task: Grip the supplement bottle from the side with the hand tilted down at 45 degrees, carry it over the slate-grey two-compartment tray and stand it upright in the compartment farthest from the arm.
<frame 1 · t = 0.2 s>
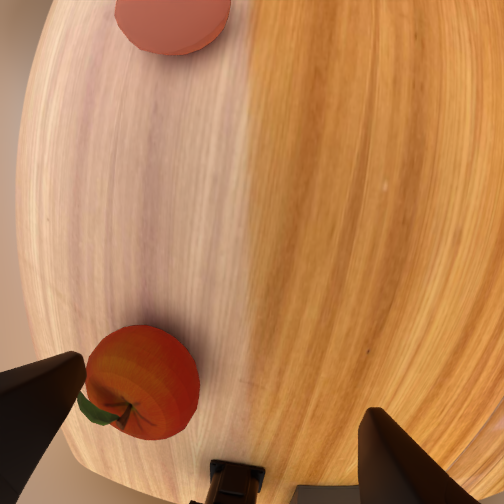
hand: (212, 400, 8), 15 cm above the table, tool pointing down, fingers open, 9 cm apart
tray: (359, 501, 29), on the table
fruit: (162, 354, 26), on the table
perfume bottle: (191, 27, 18), on the table
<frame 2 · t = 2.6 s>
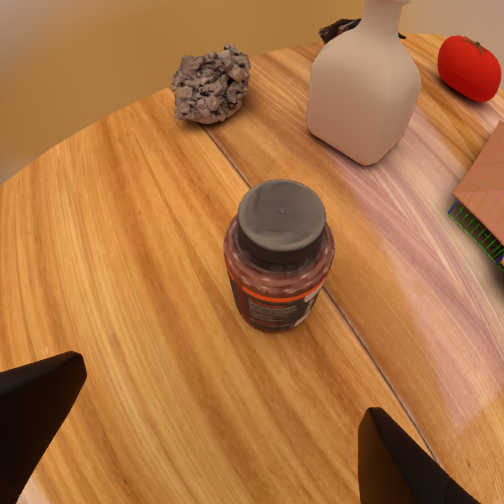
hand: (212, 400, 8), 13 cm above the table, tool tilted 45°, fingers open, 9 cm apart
supplement bottle: (274, 298, 23), on the table
figurine: (347, 77, 39), on the table
tomato: (460, 91, 40), on the table
soap bottle: (353, 137, 32), on the table
mineral specimen: (217, 107, 35), on the table
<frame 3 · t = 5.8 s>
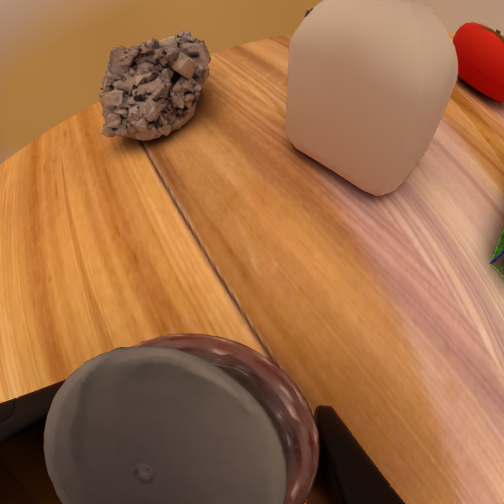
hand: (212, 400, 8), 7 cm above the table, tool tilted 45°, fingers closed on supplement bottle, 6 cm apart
supplement bottle: (228, 428, 13), on the table, touching gripper
tomato: (477, 89, 31), on the table
soap bottle: (356, 150, 22), on the table
mineral specimen: (167, 116, 25), on the table
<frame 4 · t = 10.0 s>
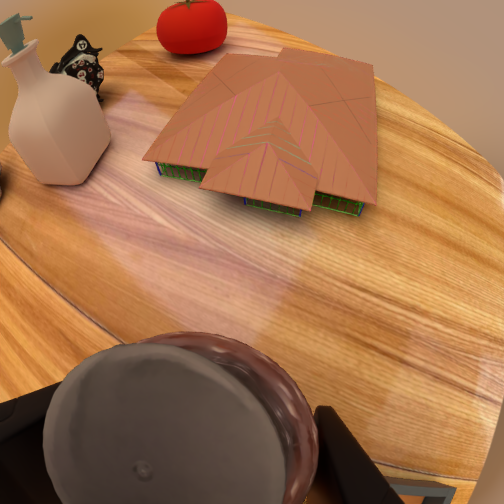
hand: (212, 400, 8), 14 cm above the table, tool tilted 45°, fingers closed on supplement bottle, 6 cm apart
supplement bottle: (228, 428, 13), point 8 cm above the table, touching gripper
figurine: (80, 109, 41), on the table
tomato: (196, 51, 48), on the table
soap bottle: (77, 163, 34), on the table
house: (281, 119, 36), on the table
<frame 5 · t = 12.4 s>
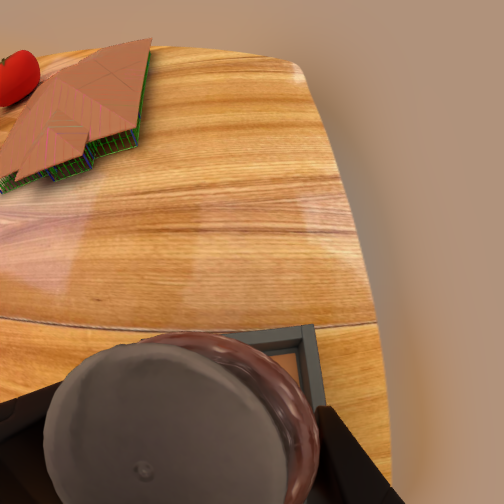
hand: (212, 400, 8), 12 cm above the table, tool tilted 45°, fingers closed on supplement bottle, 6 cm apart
supplement bottle: (228, 428, 13), point 5 cm above the table, touching gripper
tomato: (22, 97, 44), on the table
tray: (245, 483, 16), on the table
house: (80, 113, 36), on the table
when the fingers open (7 cm above the table, at t = 14.2 s): supplement bottle stays where it is, resting on tray.
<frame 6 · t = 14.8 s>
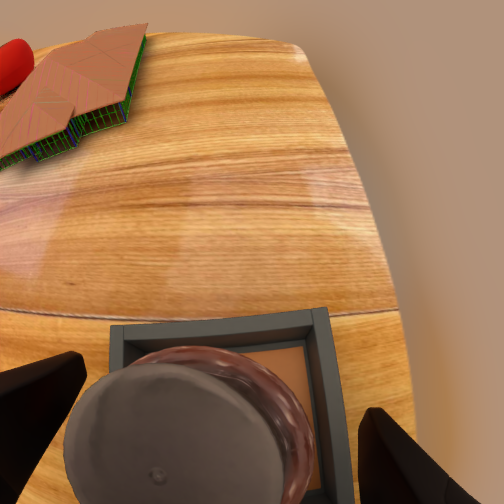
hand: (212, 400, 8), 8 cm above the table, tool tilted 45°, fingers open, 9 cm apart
supplement bottle: (229, 431, 14), point 1 cm above the table, touching tray
tomato: (16, 86, 41), on the table
house: (70, 96, 33), on the table
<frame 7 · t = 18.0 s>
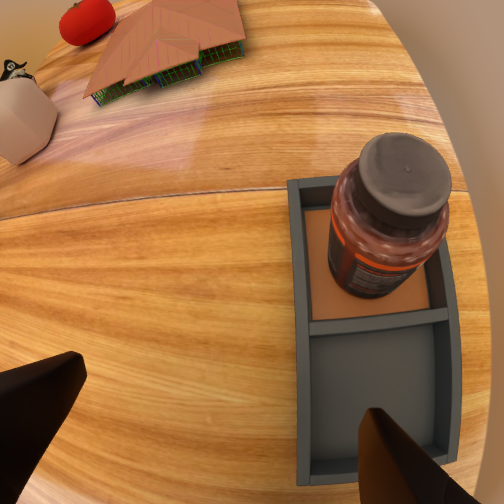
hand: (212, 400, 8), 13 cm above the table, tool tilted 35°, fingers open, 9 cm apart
supplement bottle: (367, 260, 21), point 1 cm above the table, touching tray
figurine: (27, 115, 43), on the table
tomato: (98, 36, 49), on the table
soap bottle: (39, 139, 38), on the table
tray: (372, 327, 20), on the table
house: (173, 38, 38), on the table
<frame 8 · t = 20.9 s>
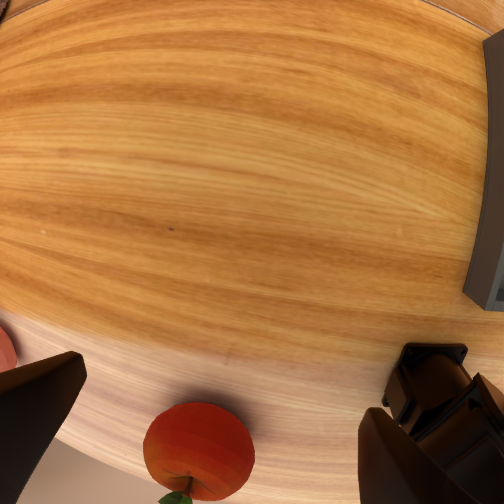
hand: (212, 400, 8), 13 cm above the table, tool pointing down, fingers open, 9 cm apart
fruit: (211, 419, 25), on the table
perfume bottle: (8, 339, 28), on the table
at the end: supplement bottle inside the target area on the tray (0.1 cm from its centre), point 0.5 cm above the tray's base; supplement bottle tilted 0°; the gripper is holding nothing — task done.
